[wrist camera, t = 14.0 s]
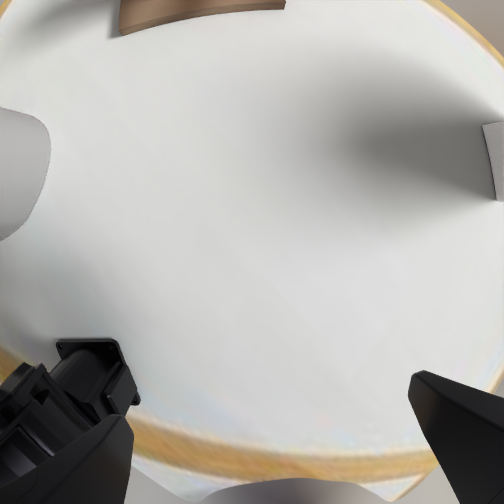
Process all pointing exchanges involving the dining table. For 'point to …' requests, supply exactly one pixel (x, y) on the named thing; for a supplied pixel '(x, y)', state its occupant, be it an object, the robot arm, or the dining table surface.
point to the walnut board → (181, 11)
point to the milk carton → (496, 155)
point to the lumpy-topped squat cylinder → (21, 167)
